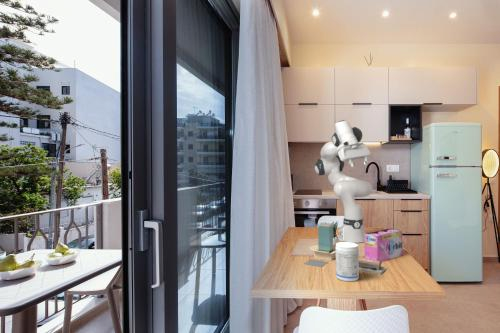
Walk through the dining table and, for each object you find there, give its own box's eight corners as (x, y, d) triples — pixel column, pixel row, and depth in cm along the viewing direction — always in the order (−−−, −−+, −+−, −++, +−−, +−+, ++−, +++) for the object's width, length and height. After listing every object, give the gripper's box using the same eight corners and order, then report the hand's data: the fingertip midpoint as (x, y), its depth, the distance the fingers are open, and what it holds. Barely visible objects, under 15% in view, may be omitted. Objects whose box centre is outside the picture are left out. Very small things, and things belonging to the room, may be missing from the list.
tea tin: (318, 257, 169) (318, 224, 169) (322, 255, 173) (321, 222, 174) (329, 259, 166) (329, 225, 166) (333, 256, 170) (332, 223, 170)
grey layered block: (341, 258, 154) (349, 253, 162) (341, 268, 154) (349, 263, 162) (380, 264, 143) (386, 259, 151) (381, 275, 143) (387, 270, 151)
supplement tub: (337, 273, 145) (337, 240, 145) (359, 276, 141) (359, 242, 141) (334, 280, 136) (333, 245, 136) (357, 283, 132) (357, 247, 132)
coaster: (303, 265, 158) (303, 263, 158) (311, 260, 165) (311, 259, 165) (321, 268, 153) (321, 266, 153) (328, 263, 160) (328, 261, 160)
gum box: (391, 252, 180) (391, 228, 180) (404, 255, 174) (404, 230, 174) (364, 259, 167) (363, 233, 167) (377, 263, 161) (377, 235, 161)
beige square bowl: (307, 259, 168) (306, 249, 168) (318, 252, 180) (318, 243, 180) (334, 263, 159) (334, 253, 159) (344, 256, 172) (344, 246, 172)
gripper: (360, 145, 197) (370, 165, 193) (334, 149, 189) (343, 170, 184) (367, 140, 192) (377, 160, 187) (339, 143, 184) (349, 165, 179)
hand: (359, 165), depth 186 cm, fingers open, 8 cm apart
